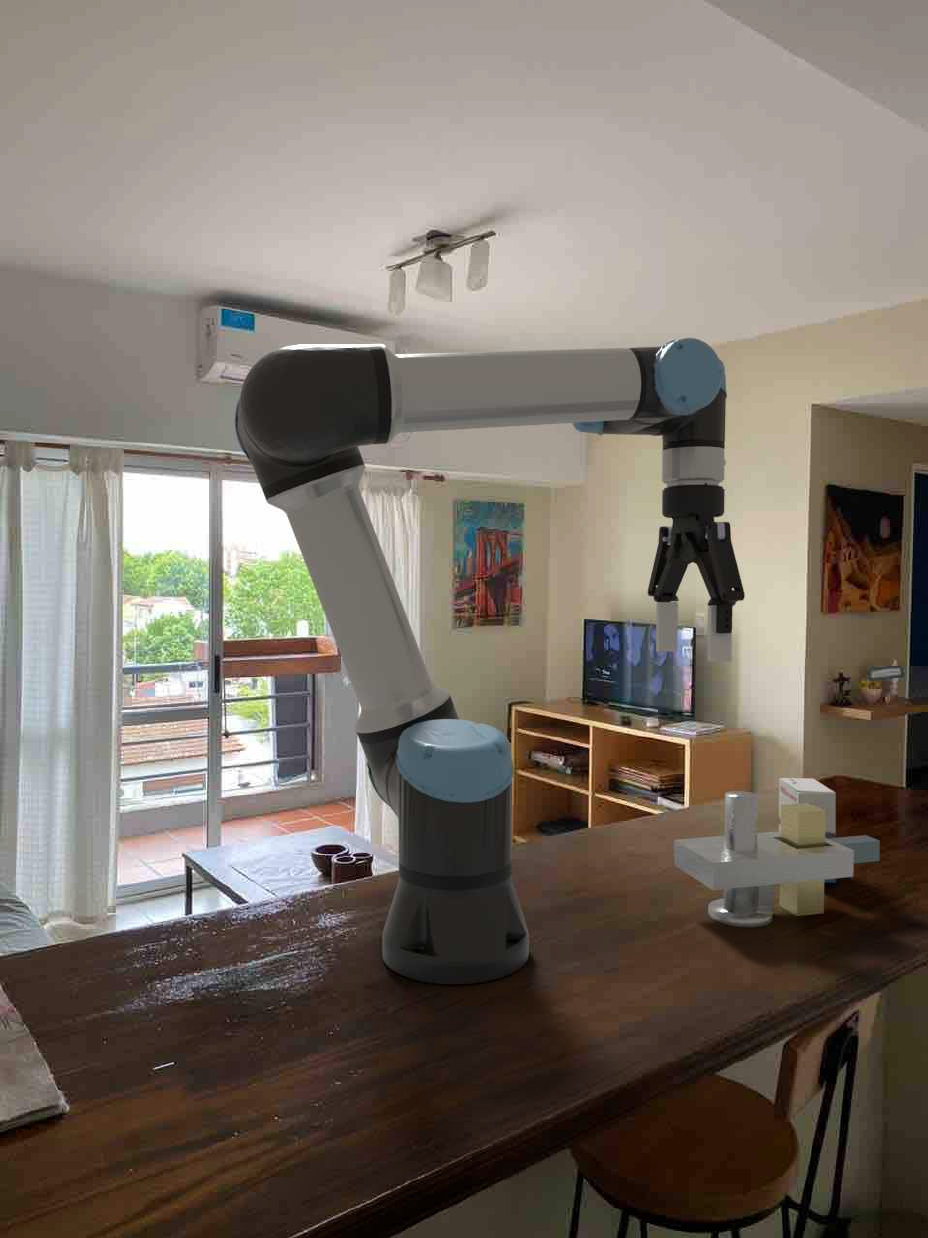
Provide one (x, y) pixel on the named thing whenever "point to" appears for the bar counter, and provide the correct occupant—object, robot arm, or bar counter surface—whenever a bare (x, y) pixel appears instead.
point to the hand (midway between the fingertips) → (691, 656)
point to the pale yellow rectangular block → (802, 831)
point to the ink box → (810, 801)
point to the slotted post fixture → (761, 862)
